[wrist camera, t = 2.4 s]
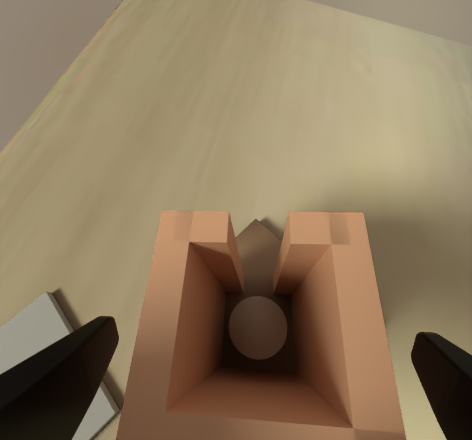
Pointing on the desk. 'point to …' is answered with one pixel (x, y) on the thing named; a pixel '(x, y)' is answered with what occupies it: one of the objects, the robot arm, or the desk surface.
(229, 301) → the stand
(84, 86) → the desk surface
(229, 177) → the desk surface
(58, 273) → the desk surface
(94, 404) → the mat
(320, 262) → the c link
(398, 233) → the desk surface
